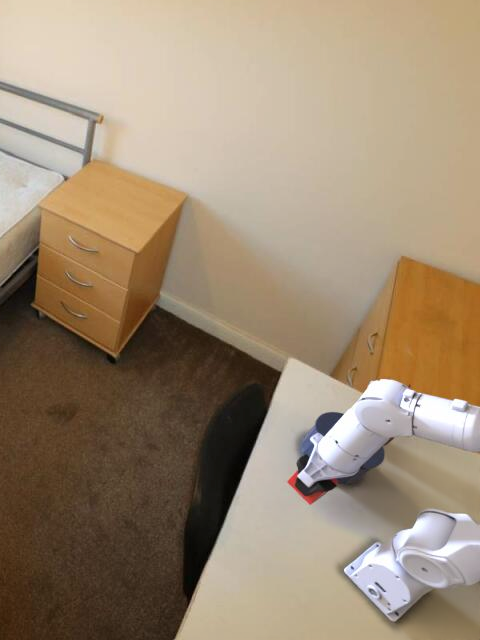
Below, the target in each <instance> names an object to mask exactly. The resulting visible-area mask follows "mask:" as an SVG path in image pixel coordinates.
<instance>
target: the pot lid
mask: <svg viewBox="0 0 480 640" xmlns="http://www.w3.org/2000/svg"><path fill="white" fill-rule="evenodd" d="M344 414H345V413H343V412H342V413H341V412H338V411H328V412H324V413H322V414H320V415H319V416H318V417H317V418H316V420H315V422H314V425H315V433H320V434H321V435H322V436H325V435H326V434H327V433H328V432H329V431H330V430H331V429H332V428H333V427H334V425H335V424H336V423H337V422H338V421H339V420H340V419H341V417H342V416H343V415H344ZM385 455H386V454H385V448H384V446H382V447H381V448H380V449H379V450H378V451H377V452H376V453H375V454H373V455H372V456H371V457H370V458H369V459H368V460H367V461H366V462H365V463H364V466H363V467H362V468H361V469H371V470H373V469H376V468H378V467H379V466H381V465H382V463H383V461H384V460H385Z"/></svg>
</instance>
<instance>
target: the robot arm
mask: <svg viewBox="0 0 480 640" xmlns="http://www.w3.org/2000/svg"><path fill="white" fill-rule="evenodd" d="M407 386H408V385H406V384H404V383H402V382H400V381H397V380H395V379H384V378H382V379H380V380H379V379H376V380H371V381H370V382H369V384H368V385H367V388H366V390H365V391H364V392H363V393H362V394H361V396H360V397H359V399H358V400H357V401H356V402H355V403H354V404H353V405H352V406H351V407H350V408H348V410H346V412H345V413H343V414H344V415H343V416H342V417H341V419H340V420H339V421H338V422H337V423H336V424H335V425H334V427H333V428H332V429H331V430H330V431H329V432H328V433H327V434H326V435H325V436H322V435H321V434H320V433H316V434H315V435H313V436H312V437H311V438H310V440H311V442H312V443H313V444H314V449H313V451H312V454H311V456H310V457H309V456H308V455H307V454H305V455H303V454H302V456H300V457H299V458H298V459H297V460H296V467H297V470H298V476H297V479H296V482H295V487H296V488H297V489H298V490H299V491H300V492H301V493H302V494H303V495H304V496H309V495H311V494H313V493H315V492H318V491H324V492H327V491H328V492H330V491H332V490H334V489H335V488H336V487H338V484H335V483H334V482H333V481H331V480H330V479H334V478H342V477H349V476H353V475H355V474H356V473H357V472H358V471H359V470H360V469H361V468H362V467H363V466H364V463H365V462H366V461H367V460H368V459H369V458H370V457H371V456H372V455H373V454H375V453H376V452H377V451H378V450H379V449H380V448H381V447H382V446H383V445H384V444H385V443H386V442H387V441H388V440H389V439H390V438H391V437H395V438H398V437H401V436H402V437H406V438H409V437H413V436H414V437H418V438H422V439H425V440H427V441H432V442H435V443H439V444H442V445H444V446H445V445H446V446H448V447H453V448H455V449H459V450H463V451H466V452H469V453H474V454H477V453H480V406H477V405H474V404H469V401H466V400H464V399H463V400H462V399H459V398H454V399H448V398H444V397H440V396H436V395H431V394H427V393H422V392H417V391H416V390H414V389H411V387H410V388H408V387H407ZM383 447H384V446H383ZM328 492H327V493H328ZM343 572H344V574H346V576H348V577H349V579H350V580H351V581H352V582H353V584H355V585H356V586H357V587H358V588H359V589H360V590H361V592H362V593H363V594H365V595H366V596H367V598H368V599H369V600H370V601H371V602H372V603H373V604H374V605H375V606H376V607H377V608H378V609H379V610H380V611H381V612H382V613H383V614H384V615H385V616H386V617H387V619H388V620H389V621H391V622H392V623H395V622H397V621H398V620H399V619H400V618H401V617H402V616H403V615H404V614H405V613H406V612H407V611H408V610H409V609H411V608H412V607H413V606H414V605H415V604H416V603H417V602H418V601H419V600H420V599H421V598H422V597H423V596H424V595H426V594H428V593H429V592H431V591H433V590H435V589H437V590H439V591H440V590H441V591H448V590H451V589H454V588H455V587H457V586H468V587H469V586H473V585H475V584H476V583H478V582H480V523H478V521H477V520H475V519H474V518H473V517H472V516H470V515H469V514H467V513H453V512H449V511H445V510H443V509H439V508H425V509H422V510H421V511H419V513H418V514H417V518H416V521H415V523H414V525H413V527H412V528H407V529H404V530H400V531H398V532H397V533H396V534H394V535H393V536H391V537H390V538H387V540H385V541H384V542H383V543H382V542H380V541H376V542H375V543H374V544H372V545H371V546H370V547H369V548H367V550H365V551H364V552H363V553H361V554H360V555H359V556H358V557H356V558H355V560H353V561H352V562H351V563H350V564H348V565H347V566H346V567H345V568H344V569H343Z"/></svg>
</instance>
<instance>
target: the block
mask: <svg viewBox="0 0 480 640" xmlns="http://www.w3.org/2000/svg"><path fill="white" fill-rule="evenodd" d="M297 476H298V469H297V470H296V471H295V472H294V473H293V474H292V476H290V478H289V479H288V480H287V481H286V483H287V484H288V485H289V486H291V488H292V489H293V490H294V491H295V492H296V493H297V494H298V495H300V497H301V498H302V499H303V500H305V502H306V503H307V504H308V505H309V506H310V505H313V504H314V503H315V502H317V501H318V500H319V499H320V498H321V499H322V497H324V496H325V495H326V494H327V493H328V492H329V491H327V492H324V491H318V492H315V493H313V494H311V495H309V496H304V495H303V494H302V493H301V492H300V491H299V490H298V489H297V488H296V487H295V482H296V479H297ZM330 480H331V481H333V482H334V483H335V484H336V485H338V484H337V483H338V482H339V481H338V480H337V479H336V478H334V479H330Z"/></svg>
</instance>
